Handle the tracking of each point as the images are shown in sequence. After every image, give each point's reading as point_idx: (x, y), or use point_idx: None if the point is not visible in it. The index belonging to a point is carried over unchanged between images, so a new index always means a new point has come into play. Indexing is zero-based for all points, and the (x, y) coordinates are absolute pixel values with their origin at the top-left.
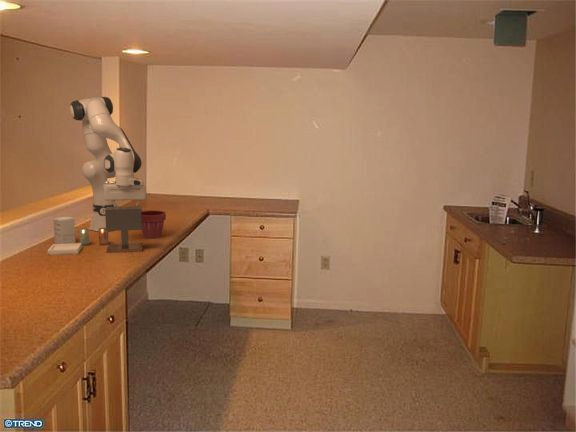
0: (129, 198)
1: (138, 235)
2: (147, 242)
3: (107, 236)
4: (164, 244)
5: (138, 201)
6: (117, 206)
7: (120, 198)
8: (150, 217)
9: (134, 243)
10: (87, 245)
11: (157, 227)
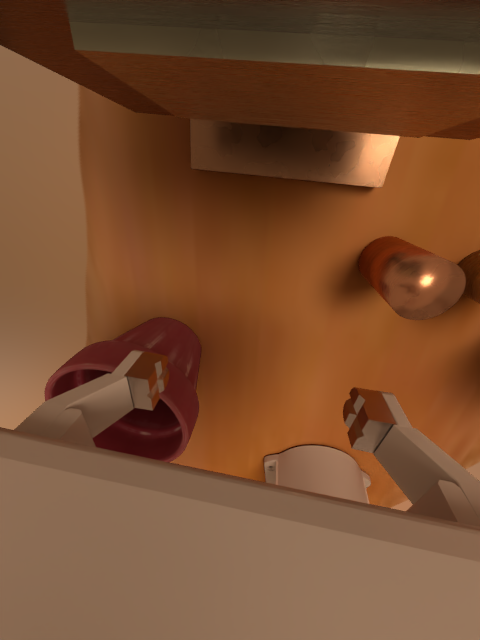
0: (148, 493)
1: (220, 373)
2: (180, 247)
3: (382, 257)
4: (97, 179)
5: (45, 412)
6: (354, 427)
7: (360, 544)
8: (113, 358)
9: (237, 161)
10: (474, 253)
11: (121, 335)
